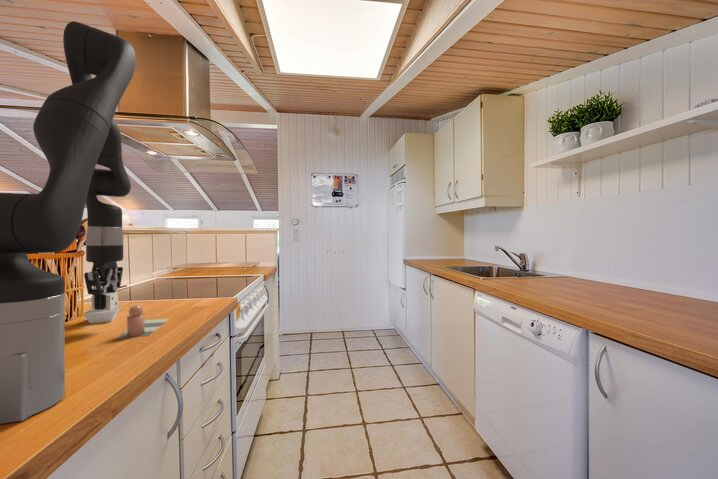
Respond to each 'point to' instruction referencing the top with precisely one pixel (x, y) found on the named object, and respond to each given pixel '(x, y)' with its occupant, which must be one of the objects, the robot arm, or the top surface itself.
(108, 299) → the die
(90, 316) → the figurine
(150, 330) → the board
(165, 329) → the top surface
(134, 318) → the pawn
